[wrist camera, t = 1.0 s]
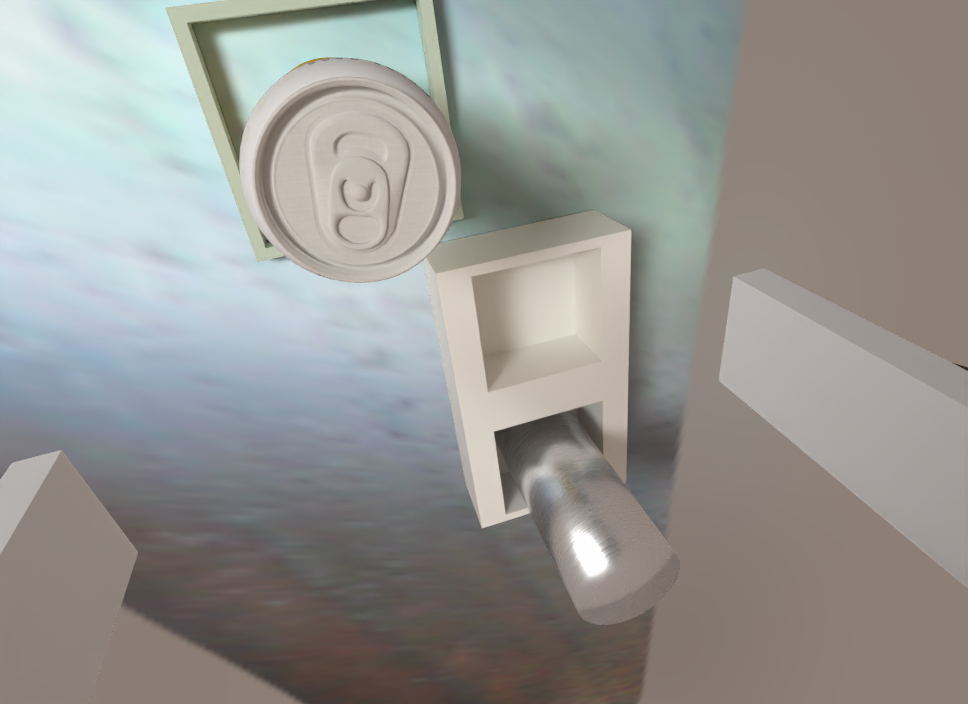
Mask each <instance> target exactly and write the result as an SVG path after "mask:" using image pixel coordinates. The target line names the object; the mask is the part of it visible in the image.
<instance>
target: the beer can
mask: <svg viewBox="0 0 968 704" xmlns="http://www.w3.org/2000/svg"><path fill="white" fill-rule="evenodd" d="M239 168H240V179H241V184H242V190H243V193H244V197H245V200H246V203H247V205H248V208H249V210H250V212H251V215H252V217H253V218H254V220H255V222H256V224H257V225H258V227H259V229H260V230H261V231H262V233H263V234H264V235H265V237H266V238H267V239H268V240H269V241H270V242H271V244H272V245H273V246H274V247H275V248H276V249H277V250H278V251H280V252H281V253H282V254H283V255H284V256H285V257H287V258H288V259H289V260H291V261H292V262H294V263H295V264H297V265H298V266H300V267H302V268H304V269H306V270H307V271H310V272H312V273H315V274H317V275H319V276H323V277H326V278H329V279H334V280H339V281H345V282H355V283H366V282H375V281H381V280H385V279H389V278H392V277H395V276H397V275H400V274H402V273H404V272H406V271H408V270H410V269H411V268H413V267H414V266H416V265H417V264H419V263H420V262H421V261H422V260H424V259H425V258H426V257H427V256H428V255H429V254H430V253H431V252H432V251H433V250H434V248H435V247H436V246H437V245H438V244H439V242H440V241H441V240H442V238H443V237H444V235H445V234H446V232H447V230H448V229H449V227H450V225H451V222H452V220H453V218H454V215H455V212H456V210H457V206H458V202H459V197H460V190H461V164H460V157H459V152H458V148H457V144H456V141H455V138H454V135H453V133H452V131H451V129H450V126H449V124H448V122H447V120H446V119H445V117H444V115H443V114H442V112H441V111H440V109H439V108H438V107H437V105H436V104H435V103H434V101H433V100H432V99H431V98H430V97H429V96H428V95H427V94H426V93H425V92H424V91H423V90H422V89H421V88H420V87H419V86H418V85H416V84H415V83H414V82H413V81H411V80H410V79H408V78H407V77H405V76H404V75H402V74H401V73H399V72H397V71H395V70H393V69H391V68H389V67H386V66H383V65H381V64H378V63H375V62H371V61H366V60H362V59H353V58H318V59H313V60H310V61H307V62H305V63H303V64H300V65H299V66H297V67H296V68H294V69H293V70H291V71H290V72H289V73H287V74H286V75H284V76H283V77H282V78H280V79H279V80H278V81H277V82H276V83H275V84H273V85H272V86H271V87H270V88H269V89H268V90H267V91H266V93H265V94H264V95H263V96H262V97H261V98H260V100H259V101H258V103H257V104H256V106H255V107H254V109H253V111H252V113H251V115H250V117H249V119H248V121H247V124H246V127H245V130H244V133H243V136H242V142H241V147H240V159H239Z"/></svg>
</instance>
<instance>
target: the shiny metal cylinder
mask: <svg viewBox="0 0 968 704" xmlns="http://www.w3.org/2000/svg"><path fill="white" fill-rule="evenodd" d="M494 437H495V441H496V443H497V446H498V448H499V450H500V452H501V454H502V456H503V458H504V460H505V462H506V464H507V466H508V468H509V470H510V472H511V475H512V477H513V479H514V481H515V483H516V485H517V487H518V489H519V491H520V493H521V495H522V497H523V499H524V501H525V504H526V506H527V508H528V510H529V512H530V514H531V516H532V518H533V520H534V522H535V524H536V526H537V528H538V530H539V533H540V535H541V537H542V539H543V541H544V543H545V545H546V547H547V549H548V551H549V553H550V555H551V557H552V559H553V561H554V564H555V566H556V568H557V570H558V572H559V574H560V576H561V578H562V580H563V582H564V584H565V586H566V588H567V590H568V593H569V595H570V597H571V599H572V601H573V603H574V605H575V607H576V609H577V611H578V613H579V615H580V616H581V617H582V618H583V619H584V620H586V621H587V622H590V623H593V624H598V625H609V624H616V623H620V622H623V621H626V620H629V619H632V618H634V617H636V616H638V615H640V614H642V613H644V612H645V611H647V610H648V609H650V608H651V607H653V606H654V605H655V604H657V603H658V602H659V601H660V600H661V599H662V598H663V597H664V596H665V595H666V594H667V593H668V592H669V590H670V589H671V588H672V586H673V585H674V583H675V581H676V579H677V576H678V573H679V569H680V565H679V564H680V563H679V559H678V557H677V555H676V553H675V552H674V551H673V549H672V548H671V547H670V545H669V544H668V542H667V541H666V540H665V538H664V537H663V536H662V534H661V533H660V532H659V530H658V529H657V527H656V526H655V525H654V523H653V522H652V521H651V519H650V518H649V517H648V515H647V514H646V513H645V511H644V510H643V508H642V507H641V506H640V504H639V503H638V502H637V500H636V499H635V498H634V496H633V495H632V494H631V492H630V491H629V489H628V488H627V487H626V485H625V484H624V483H623V481H622V480H621V479H620V477H619V476H618V475H617V473H616V472H615V470H614V469H613V468H612V466H611V465H610V464H609V462H608V461H607V460H606V458H605V457H604V456H603V454H602V453H601V451H600V450H599V449H598V447H597V446H596V445H595V443H594V442H593V441H592V439H591V438H590V437H589V435H588V434H587V432H586V431H585V430H584V428H583V427H582V426H581V424H580V423H579V422H578V420H577V419H576V418H575V416H574V415H573V413H572V412H571V411H570V410H568V411H565V412H561V413H558V414H554V415H551V416H547V417H544V418H540V419H537V420H533V421H530V422H526V423H522V424H519V425H515V426H512V427H508V428H505V429H501V430H498V431H494Z"/></svg>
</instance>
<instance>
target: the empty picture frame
mask: <svg viewBox="0 0 968 704" xmlns="http://www.w3.org/2000/svg"><path fill="white" fill-rule="evenodd" d="M367 1H375V0H225V1H217V2H209V3H200V4H192V5H184V6H176V7H167V8H166V11H167V13H168V16H169V19H170V22H171V24H172V27H173V30H174V33H175V35H176V38H177V41H178V44H179V46H180V49H181V52H182V55H183V57H184V60H185V63H186V66H187V68H188V71H189V74H190V77H191V79H192V82H193V85H194V88H195V91H196V93H197V96H198V99H199V102H200V104H201V107H202V110H203V113H204V115H205V118H206V121H207V124H208V126H209V129H210V132H211V135H212V137H213V140H214V143H215V146H216V148H217V151H218V154H219V157H220V159H221V162H222V165H223V168H224V170H225V173H226V176H227V179H228V181H229V184H230V187H231V190H232V193H233V195H234V198H235V201H236V204H237V206H238V209H239V212H240V215H241V217H242V220H243V223H244V226H245V228H246V231H247V234H248V237H249V239H250V242H251V245H252V248H253V250H254V253H255V256H256V259H257V261H258V262H259V261H264V260H269V259H274V258H278V257H283V256H284V255H283V254H282V253H281V252H280V251H278V250H277V249H276V248H275V247H274V246H273V245H272V244H271V242H268V243H267V242H266V239H265V236H264V234H263V233H262V231H261V230H260V229H259V227H258V225H257V224H256V222H255V220H254V218H253V217H252V215H251V212H250V210H249V208H248V205H247V203H246V200H245V197H244V193H243V190H242V184H241V179H240V168H239V161H238V158H237V155H236V152H235V149H234V146H233V143H232V141H231V138H230V135H229V132H228V129H227V126H226V123H225V120H224V117H223V115H222V112H221V109H220V106H219V103H218V100H217V97H216V94H215V91H214V89H213V86H212V83H211V80H210V77H209V74H208V71H207V68H206V65H205V63H204V60H203V57H202V54H201V51H200V48H199V45H198V42H197V40H196V37H195V34H194V31H193V28H192V25H191V24H195V23H203V22H211V21H219V20H226V19H234V18H242V17H250V16H258V15H266V14H273V13H281V12H289V11H297V10H305V9H313V8H320V7H328V6H336V5H344V4H352V3H360V2H367ZM416 7H417V13H418V19H419V26H420V32H421V38H422V45H423V51H424V57H425V64H426V70H427V76H428V83H429V89H430V95H431V99H432V100H433V101H434V103H435V104H436V105H437V107H438V108H439V109H440V111H441V112H442V114H443V115H444V117H445V119H446V120H447V122H448V124H449V126H450V129H451V125H450V118H449V111H448V105H447V98H446V91H445V84H444V77H443V70H442V63H441V56H440V49H439V42H438V35H437V28H436V21H435V15H434V8H433V1H432V0H416ZM461 219H464V215H463V208H462V201H461V195H460V197H459V202H458V206H457V210H456V212H455V215H454V218H453V220H452V221H457V220H461Z"/></svg>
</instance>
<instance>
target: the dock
mask: <svg viewBox="0 0 968 704" xmlns="http://www.w3.org/2000/svg"><path fill="white" fill-rule="evenodd" d="M423 265H424V270H425V275H426V280H427V285H428V291H429V296H430V301H431V306H432V311H433V317H434V322H435V327H436V332H437V337H438V342H439V348H440V353H441V358H442V363H443V368H444V374H445V379H446V384H447V389H448V394H449V399H450V405H451V410H452V415H453V420H454V425H455V431H456V436H457V441H458V446H459V451H460V456H461V462H462V467H463V472H464V477H465V482H466V486H467V489H468V491H469V494H470V497H471V500H472V502H473V505H474V508H475V511H476V513H477V516H478V519H479V521H480V524H481V527H482V528H485V527H488V526H491V525H494V524H497V523H500V522H504V521H507V520H510V519H513V518H516V517H519V516H522V515H526V514H529V513H530V512H529V510H528V508H527V506H526V504H525V501H524V499H523V497H522V495H521V493H520V491H519V489H518V487H517V485H516V483H515V481H514V479H513V477H512V475H511V472H510V470H509V468H508V466H507V464H506V462H505V460H504V458H503V456H502V454H501V452H500V450H499V448H498V446H497V443H496V441H495V437H494V431H498V430H501V429H505V428H508V427H512V426H515V425H519V424H522V423H526V422H530V421H533V420H537V419H540V418H544V417H547V416H551V415H554V414H558V413H561V412H565V411H568V410H570V411H571V412H572V413H573V415H574V416H575V418H576V419H577V420H578V422H579V423H580V424H581V426H582V427H583V428H584V430H585V431H586V432H587V434H588V435H589V437H590V438H591V439H592V441H593V442H594V443H595V445H596V446H597V447H598V449H599V450H600V451H601V453H602V454H603V456H604V457H605V458H606V460H607V461H608V462H609V464H610V465H611V466H612V468H613V469H614V470H615V472H616V473H617V475H618V476H619V477H620V479H621V480H622V481H623V483H626V469H627V420H628V371H629V322H630V273H631V229H629V228H627V227H625V226H623V225H622V224H620V223H618V222H616V221H614V220H612V219H610V218H608V217H607V216H605V215H603V214H601V213H599V212H597V211H595V210H591V211H586V212H582V213H577V214H572V215H568V216H563V217H558V218H554V219H549V220H544V221H540V222H535V223H530V224H526V225H521V226H516V227H512V228H507V229H502V230H498V231H493V232H488V233H484V234H479V235H474V236H470V237H465V238H460V239H456V240H451V241H446V242H442V243H439V244H438V245H437V246H436V247H435V248H434V250H433V251H432V252H431V253H430V254H429V255H428V256H427V257H426V258H425V259H424V260H423Z"/></svg>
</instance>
